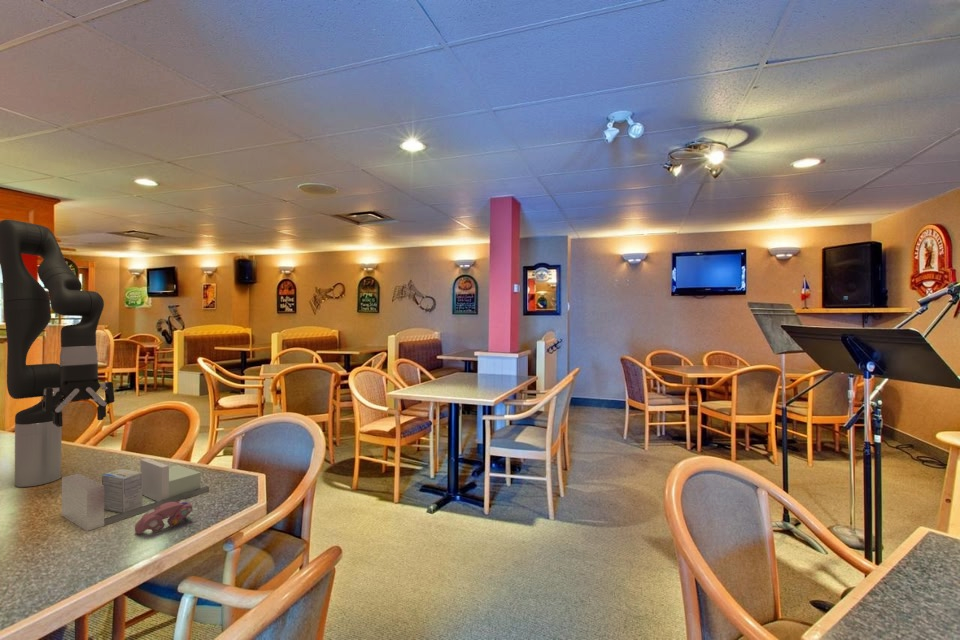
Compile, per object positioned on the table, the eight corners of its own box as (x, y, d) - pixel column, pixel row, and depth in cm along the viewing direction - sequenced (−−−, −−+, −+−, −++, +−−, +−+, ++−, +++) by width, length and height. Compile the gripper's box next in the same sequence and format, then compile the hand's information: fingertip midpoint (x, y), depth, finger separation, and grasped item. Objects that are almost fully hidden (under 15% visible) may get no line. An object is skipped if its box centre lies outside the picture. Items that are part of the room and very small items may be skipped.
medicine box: (143, 506, 106) (143, 471, 106) (123, 514, 102) (123, 478, 102) (121, 502, 108) (121, 468, 108) (101, 509, 104) (101, 474, 104)
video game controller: (139, 545, 91) (146, 519, 89) (131, 530, 93) (137, 505, 91) (190, 526, 99) (197, 502, 98) (182, 513, 101) (189, 489, 100)
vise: (61, 515, 101) (61, 477, 101) (181, 480, 123) (181, 449, 123) (86, 531, 94) (87, 490, 94) (209, 491, 116) (209, 457, 116)
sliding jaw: (140, 493, 113) (140, 459, 113) (178, 482, 121) (178, 450, 121) (162, 503, 107) (162, 467, 107) (200, 491, 115) (200, 457, 115)
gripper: (106, 361, 125) (107, 417, 124) (38, 365, 112) (39, 427, 112) (117, 361, 121) (118, 418, 120) (48, 365, 109) (49, 429, 108)
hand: (80, 423), depth 116 cm, fingers open, 8 cm apart
